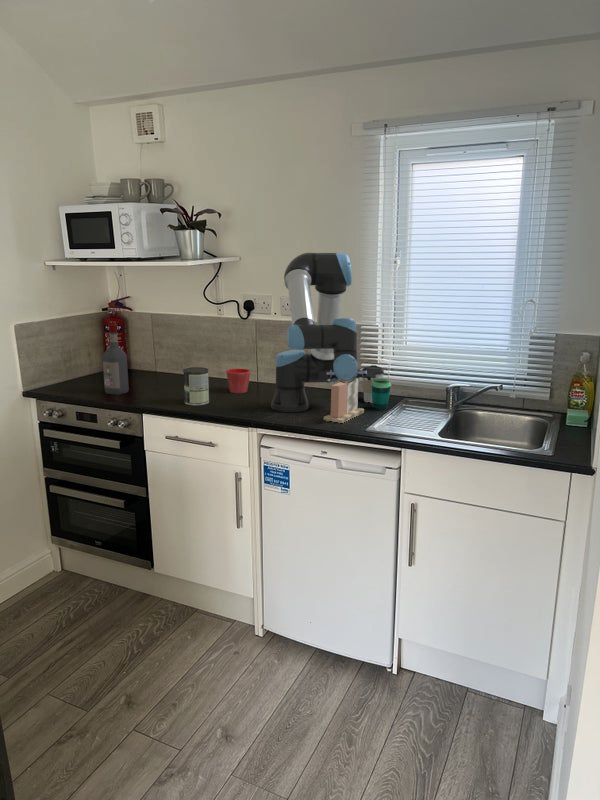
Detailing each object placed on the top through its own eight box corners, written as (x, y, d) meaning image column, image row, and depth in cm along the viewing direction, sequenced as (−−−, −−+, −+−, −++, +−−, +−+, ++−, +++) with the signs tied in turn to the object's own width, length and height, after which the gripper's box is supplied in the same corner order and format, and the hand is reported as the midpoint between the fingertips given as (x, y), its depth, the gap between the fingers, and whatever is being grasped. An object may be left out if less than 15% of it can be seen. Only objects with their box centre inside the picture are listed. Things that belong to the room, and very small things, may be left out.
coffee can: (179, 403, 256) (178, 370, 253) (194, 398, 265) (193, 366, 262) (199, 406, 252) (198, 372, 248) (214, 401, 261) (213, 368, 257)
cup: (390, 406, 255) (392, 378, 252) (389, 411, 247) (390, 382, 244) (371, 405, 257) (372, 377, 254) (369, 410, 249) (370, 381, 246)
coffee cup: (381, 404, 259) (383, 369, 255) (360, 402, 261) (361, 368, 257) (383, 399, 267) (384, 365, 264) (362, 397, 269) (363, 364, 266)
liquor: (117, 395, 269) (112, 326, 261) (101, 392, 273) (97, 325, 266) (131, 391, 276) (128, 324, 269) (116, 388, 281) (112, 323, 273)
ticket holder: (342, 423, 230) (343, 385, 226) (323, 420, 233) (324, 383, 230) (363, 412, 245) (365, 377, 242) (345, 409, 249) (347, 374, 246)
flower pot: (247, 388, 285) (246, 367, 283) (252, 393, 275) (252, 372, 273) (224, 389, 282) (224, 368, 280) (229, 395, 272) (229, 373, 269)
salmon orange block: (338, 417, 231) (339, 386, 228) (330, 416, 233) (331, 385, 230) (346, 413, 237) (347, 383, 234) (339, 412, 239) (339, 382, 236)
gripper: (309, 383, 206) (313, 388, 228) (384, 381, 204) (381, 386, 225) (308, 361, 207) (313, 368, 228) (383, 358, 205) (381, 366, 226)
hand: (347, 377), depth 227 cm, fingers open, 13 cm apart
